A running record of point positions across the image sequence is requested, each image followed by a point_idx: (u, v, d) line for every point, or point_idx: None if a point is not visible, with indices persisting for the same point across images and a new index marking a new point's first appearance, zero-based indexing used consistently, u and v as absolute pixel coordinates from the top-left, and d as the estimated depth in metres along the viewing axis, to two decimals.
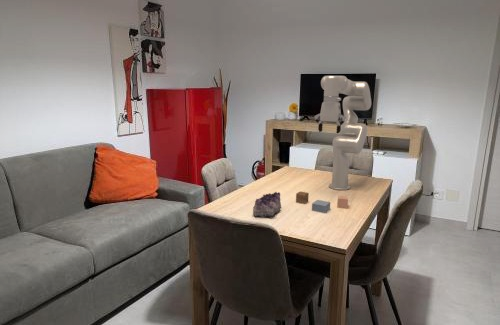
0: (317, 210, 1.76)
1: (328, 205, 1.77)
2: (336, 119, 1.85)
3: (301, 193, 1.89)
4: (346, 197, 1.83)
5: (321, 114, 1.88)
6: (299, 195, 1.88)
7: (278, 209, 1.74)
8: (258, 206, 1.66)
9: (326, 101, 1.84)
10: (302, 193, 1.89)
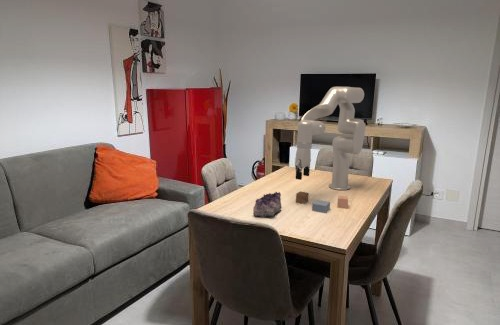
0: (317, 210, 1.76)
1: (328, 205, 1.77)
2: (309, 163, 1.88)
3: (301, 193, 1.89)
4: (346, 197, 1.83)
5: (304, 161, 1.81)
6: (299, 195, 1.88)
7: (278, 209, 1.74)
8: (258, 206, 1.66)
9: (309, 147, 1.81)
10: (302, 193, 1.89)
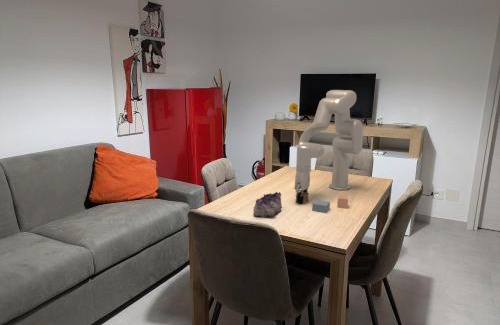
0: (318, 210, 1.76)
1: (328, 205, 1.78)
2: None
3: None
4: (346, 197, 1.83)
5: (303, 184, 1.84)
6: None
7: (279, 209, 1.74)
8: (258, 206, 1.67)
9: (308, 171, 1.84)
10: None
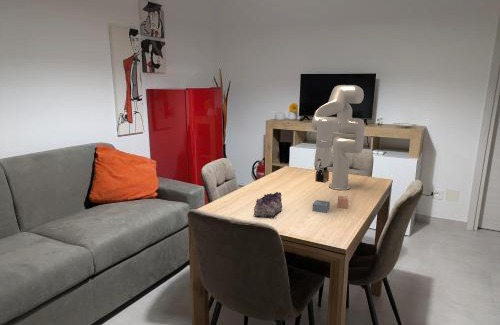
0: (318, 210, 1.76)
1: (328, 205, 1.78)
2: (329, 162, 1.76)
3: None
4: (346, 197, 1.83)
5: (324, 161, 1.69)
6: None
7: (279, 209, 1.74)
8: (259, 206, 1.67)
9: (330, 146, 1.69)
10: None
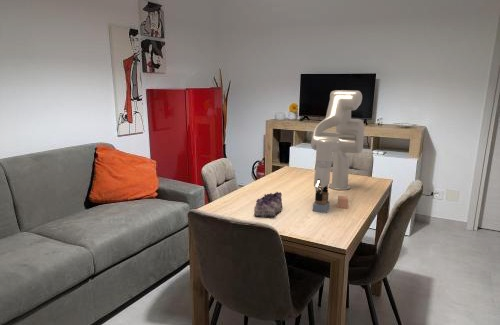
0: (318, 210, 1.76)
1: (328, 205, 1.78)
2: None
3: None
4: (346, 197, 1.83)
5: (323, 181, 1.71)
6: None
7: (279, 209, 1.74)
8: (259, 206, 1.66)
9: (329, 166, 1.71)
10: None
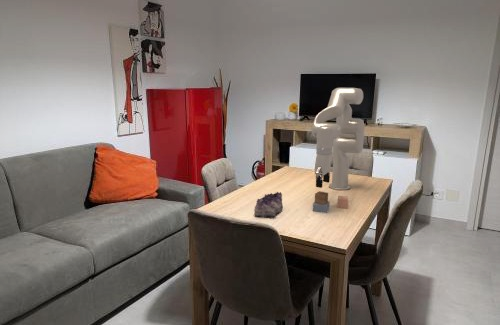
0: (318, 210, 1.76)
1: (328, 205, 1.78)
2: None
3: (320, 193, 1.77)
4: (346, 197, 1.83)
5: (324, 168, 1.70)
6: (318, 195, 1.76)
7: (279, 209, 1.74)
8: (259, 206, 1.67)
9: (330, 153, 1.70)
10: (321, 193, 1.77)
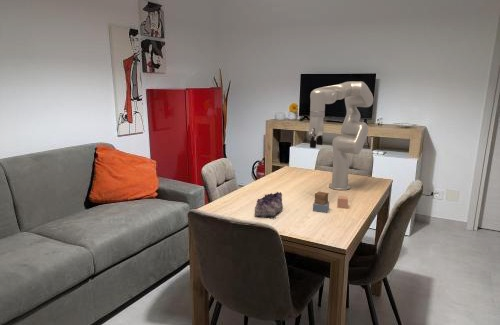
0: (318, 210, 1.76)
1: (328, 205, 1.78)
2: (322, 132, 1.91)
3: (320, 193, 1.77)
4: (346, 197, 1.83)
5: (317, 130, 1.84)
6: (318, 195, 1.76)
7: (280, 209, 1.74)
8: (260, 206, 1.66)
9: (322, 116, 1.84)
10: (321, 193, 1.77)
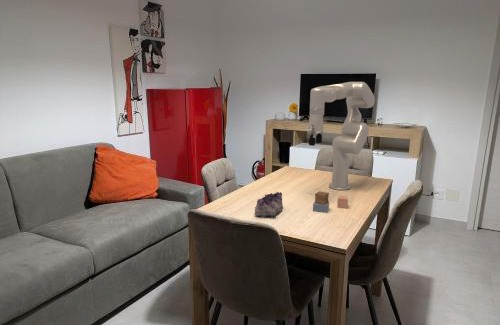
0: (318, 210, 1.76)
1: (328, 204, 1.78)
2: (322, 130, 1.92)
3: (321, 193, 1.77)
4: (346, 197, 1.83)
5: (317, 127, 1.85)
6: (318, 195, 1.76)
7: (280, 209, 1.74)
8: (260, 206, 1.66)
9: (322, 113, 1.85)
10: (321, 193, 1.77)
